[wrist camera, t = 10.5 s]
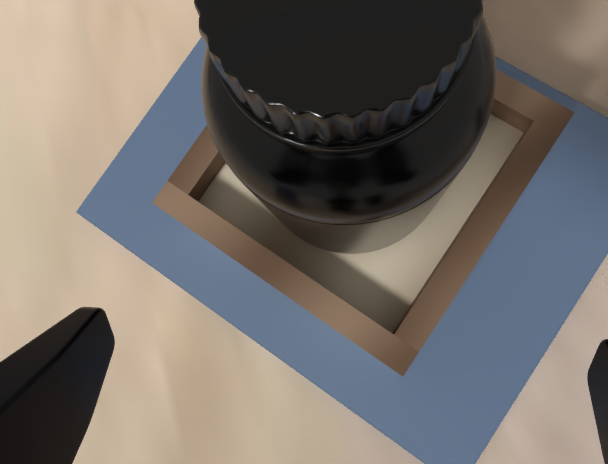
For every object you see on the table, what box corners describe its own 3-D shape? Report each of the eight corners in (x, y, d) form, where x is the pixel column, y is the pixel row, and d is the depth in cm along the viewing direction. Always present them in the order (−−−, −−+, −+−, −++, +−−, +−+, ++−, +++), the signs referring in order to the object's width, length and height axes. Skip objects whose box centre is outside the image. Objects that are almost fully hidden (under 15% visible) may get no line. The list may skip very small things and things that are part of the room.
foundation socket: (539, 145, 22) (574, 112, 18) (396, 365, 21) (402, 376, 18) (323, 22, 24) (316, -31, 20) (184, 220, 23) (151, 202, 20)
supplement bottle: (236, 134, 21) (73, -99, 9) (391, 57, 21) (429, -284, 9) (310, 289, 20) (231, 253, 8) (475, 209, 19) (652, 47, 8)
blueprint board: (664, 156, 22) (671, 152, 21) (457, 484, 21) (459, 488, 20) (276, -57, 25) (274, -65, 25) (81, 214, 24) (76, 212, 24)
